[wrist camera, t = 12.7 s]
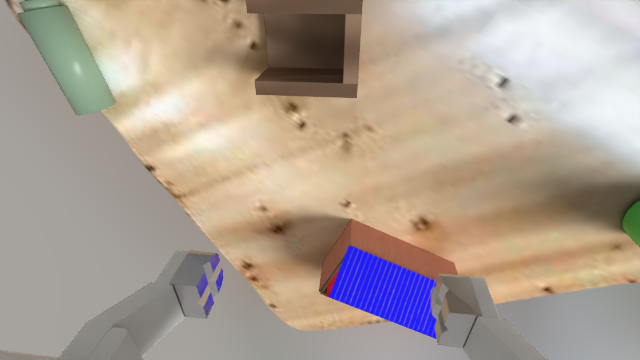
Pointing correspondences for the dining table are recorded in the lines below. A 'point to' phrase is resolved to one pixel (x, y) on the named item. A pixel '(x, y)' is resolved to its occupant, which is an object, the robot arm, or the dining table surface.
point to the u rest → (310, 47)
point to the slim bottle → (66, 55)
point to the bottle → (633, 223)
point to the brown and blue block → (383, 276)
